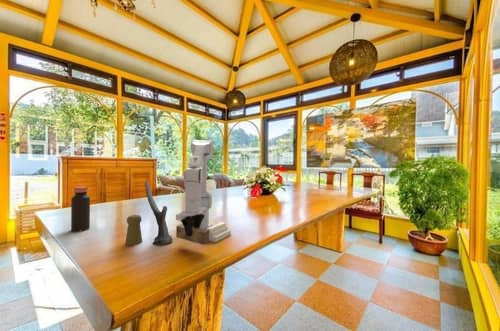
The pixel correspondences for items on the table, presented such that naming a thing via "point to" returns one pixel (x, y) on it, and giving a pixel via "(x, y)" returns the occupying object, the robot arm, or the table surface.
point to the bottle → (80, 210)
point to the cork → (133, 230)
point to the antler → (159, 220)
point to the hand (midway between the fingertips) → (192, 234)
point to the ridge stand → (218, 232)
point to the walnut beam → (193, 234)
